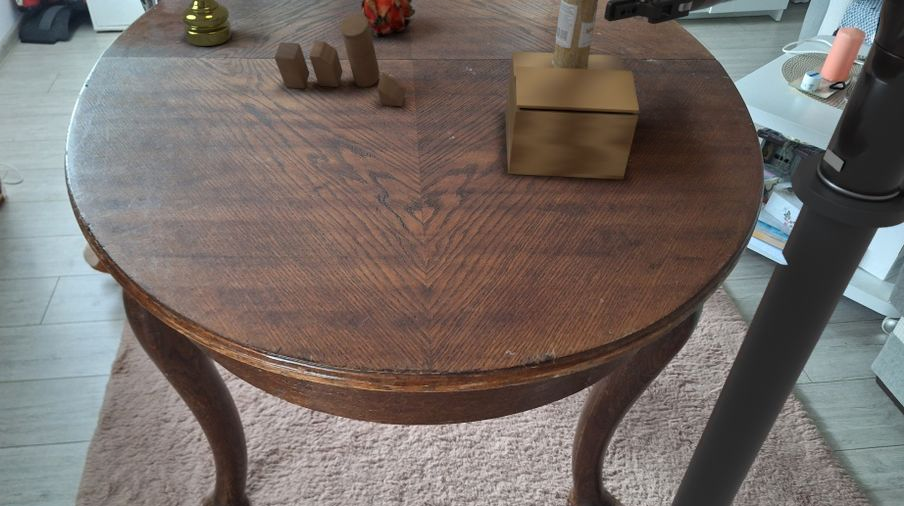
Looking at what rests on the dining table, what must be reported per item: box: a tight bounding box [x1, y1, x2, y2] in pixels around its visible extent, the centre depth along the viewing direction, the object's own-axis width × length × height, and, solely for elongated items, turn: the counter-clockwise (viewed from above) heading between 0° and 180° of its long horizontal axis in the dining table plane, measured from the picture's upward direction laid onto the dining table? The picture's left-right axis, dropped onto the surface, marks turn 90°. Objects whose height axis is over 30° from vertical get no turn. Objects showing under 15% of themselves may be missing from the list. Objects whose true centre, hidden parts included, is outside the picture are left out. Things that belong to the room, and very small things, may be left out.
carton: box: [504, 50, 639, 180], centre depth 93 cm, size 14×15×9 cm
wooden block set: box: [274, 12, 407, 107], centre depth 104 cm, size 18×9×10 cm, turn 76°
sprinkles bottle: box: [552, 0, 599, 69], centre depth 88 cm, size 5×5×13 cm
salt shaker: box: [180, 0, 232, 47], centre depth 118 cm, size 7×7×10 cm
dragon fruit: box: [360, 0, 416, 37], centre depth 122 cm, size 8×8×12 cm
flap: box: [516, 66, 640, 114], centre depth 87 cm, size 14×7×1 cm, turn 85°
